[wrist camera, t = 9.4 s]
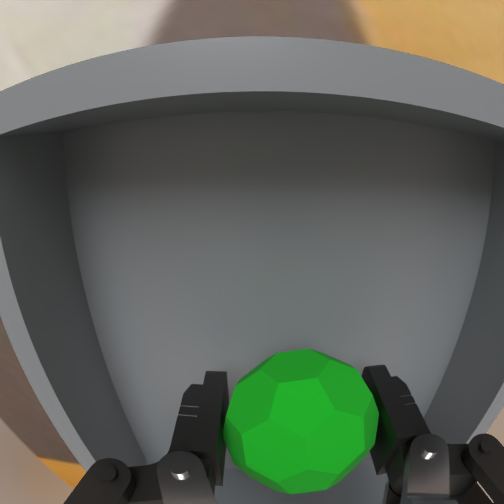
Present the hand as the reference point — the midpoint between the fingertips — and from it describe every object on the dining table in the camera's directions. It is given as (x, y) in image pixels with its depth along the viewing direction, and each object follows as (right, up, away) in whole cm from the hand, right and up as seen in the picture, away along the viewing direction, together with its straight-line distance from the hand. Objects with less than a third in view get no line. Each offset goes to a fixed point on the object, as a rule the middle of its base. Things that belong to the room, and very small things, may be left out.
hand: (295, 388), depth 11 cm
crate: (0, +1, +3) cm, 3 cm away
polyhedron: (0, 0, +1) cm, 1 cm away
